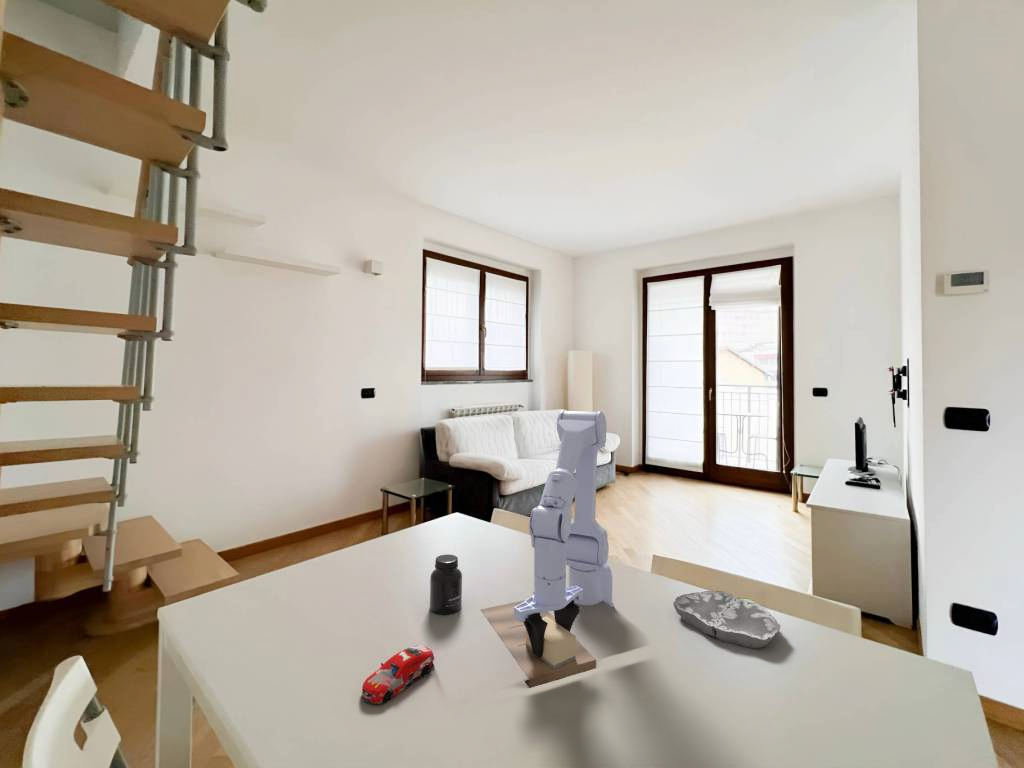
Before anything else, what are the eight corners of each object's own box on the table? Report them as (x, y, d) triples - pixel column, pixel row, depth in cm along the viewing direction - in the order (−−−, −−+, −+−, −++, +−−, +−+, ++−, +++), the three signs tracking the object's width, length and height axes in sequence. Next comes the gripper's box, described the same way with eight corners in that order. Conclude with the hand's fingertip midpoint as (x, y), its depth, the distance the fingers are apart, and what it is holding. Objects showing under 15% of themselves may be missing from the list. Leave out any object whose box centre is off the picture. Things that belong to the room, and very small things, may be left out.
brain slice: (789, 625, 92) (789, 611, 92) (769, 663, 79) (769, 647, 79) (693, 594, 105) (693, 582, 105) (663, 623, 93) (663, 608, 93)
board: (480, 616, 94) (480, 609, 94) (535, 604, 99) (535, 598, 99) (529, 688, 72) (529, 678, 72) (596, 668, 77) (596, 659, 77)
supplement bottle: (455, 624, 91) (456, 566, 91) (424, 620, 92) (425, 563, 92) (465, 607, 98) (466, 553, 98) (436, 604, 99) (437, 551, 99)
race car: (374, 713, 67) (374, 687, 67) (354, 697, 70) (354, 672, 70) (440, 669, 77) (439, 646, 77) (419, 657, 81) (419, 635, 81)
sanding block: (546, 637, 84) (546, 616, 84) (575, 658, 77) (575, 636, 77) (525, 645, 81) (525, 624, 81) (553, 669, 75) (553, 645, 75)
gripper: (565, 557, 87) (565, 626, 87) (504, 575, 78) (503, 651, 78) (591, 569, 81) (590, 643, 81) (528, 590, 73) (527, 672, 73)
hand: (549, 648), depth 79 cm, fingers closed on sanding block, 5 cm apart
